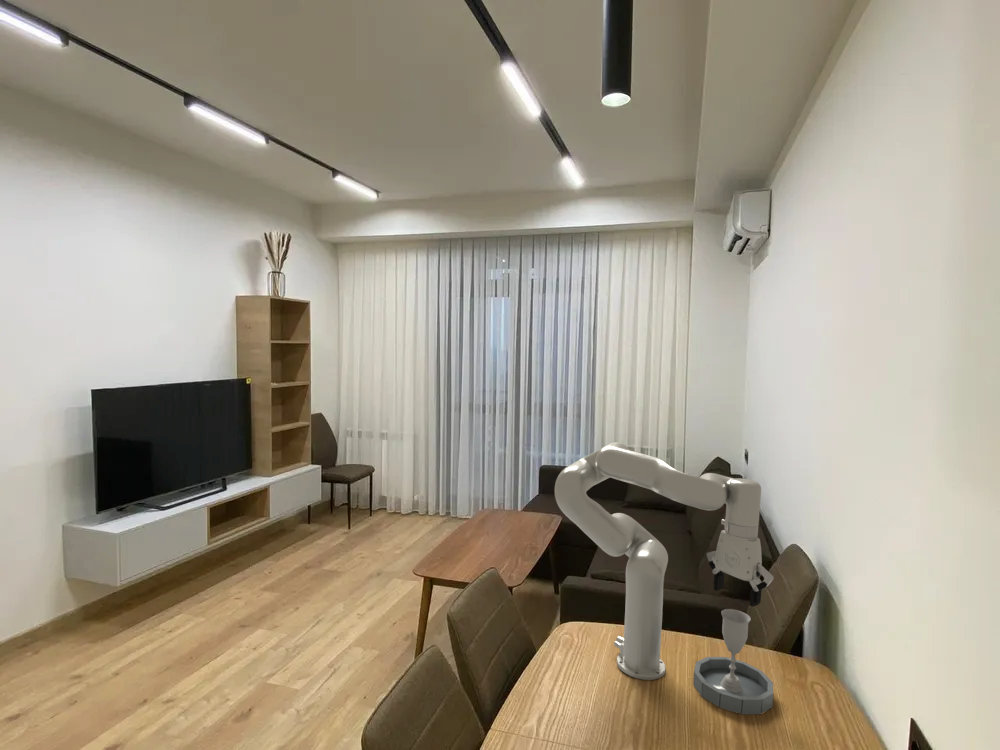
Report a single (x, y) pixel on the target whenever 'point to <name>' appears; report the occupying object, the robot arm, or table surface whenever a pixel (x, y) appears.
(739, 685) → the chalice
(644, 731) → the table surface
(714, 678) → the bowl
